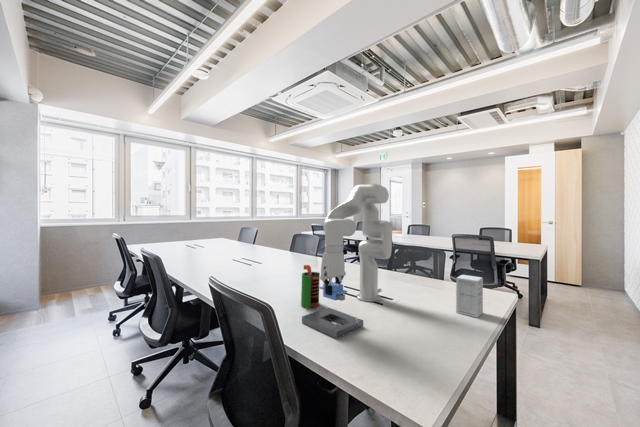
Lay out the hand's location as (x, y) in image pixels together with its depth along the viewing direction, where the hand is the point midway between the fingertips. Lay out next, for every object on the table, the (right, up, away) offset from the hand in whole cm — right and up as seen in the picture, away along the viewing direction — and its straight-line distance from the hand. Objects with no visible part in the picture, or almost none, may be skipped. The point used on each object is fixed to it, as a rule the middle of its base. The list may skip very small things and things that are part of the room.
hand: (333, 293), depth 114 cm
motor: (-10, -13, +24) cm, 30 cm away
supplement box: (+65, -14, +16) cm, 69 cm away
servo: (0, -2, 0) cm, 2 cm away
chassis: (0, -13, +1) cm, 13 cm away
